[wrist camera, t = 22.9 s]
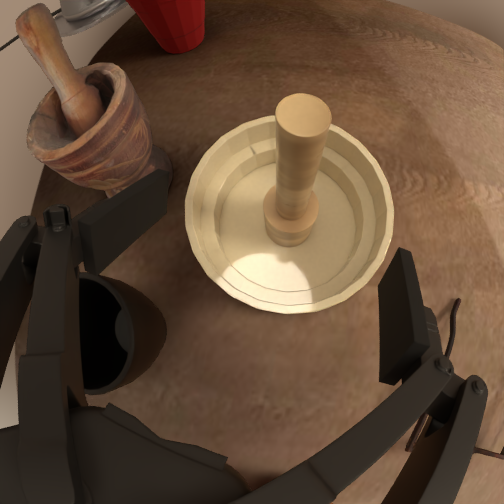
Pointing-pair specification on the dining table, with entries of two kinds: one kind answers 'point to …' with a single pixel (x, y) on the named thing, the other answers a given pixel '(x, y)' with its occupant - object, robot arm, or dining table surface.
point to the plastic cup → (173, 22)
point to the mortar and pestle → (87, 115)
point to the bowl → (254, 232)
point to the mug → (116, 333)
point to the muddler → (296, 168)
